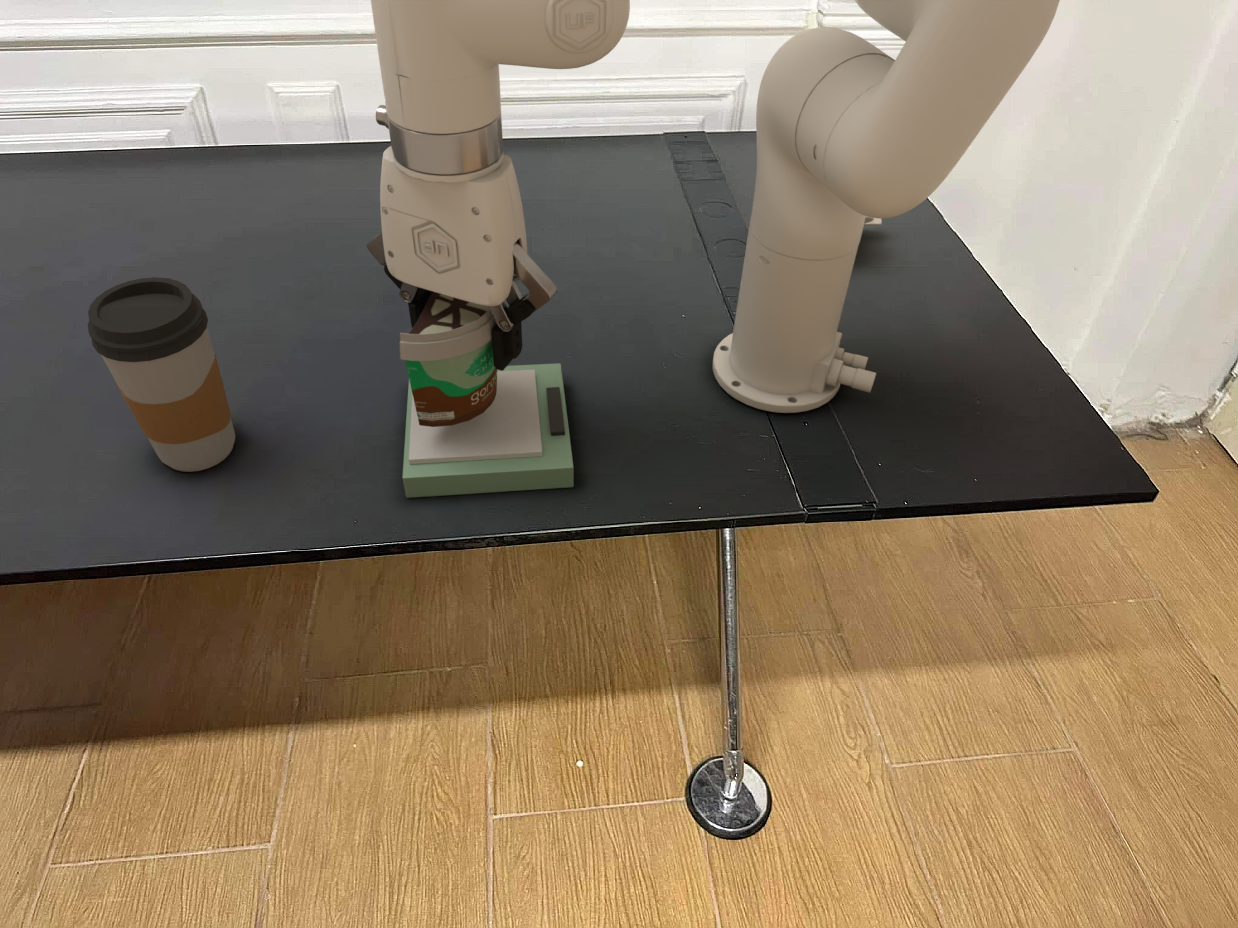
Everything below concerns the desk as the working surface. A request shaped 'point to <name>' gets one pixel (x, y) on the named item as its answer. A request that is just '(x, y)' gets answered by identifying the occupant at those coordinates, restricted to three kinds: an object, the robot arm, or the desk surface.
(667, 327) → the desk surface
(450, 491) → the kitchen scale
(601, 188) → the desk surface
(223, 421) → the coffee cup
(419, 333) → the food container
